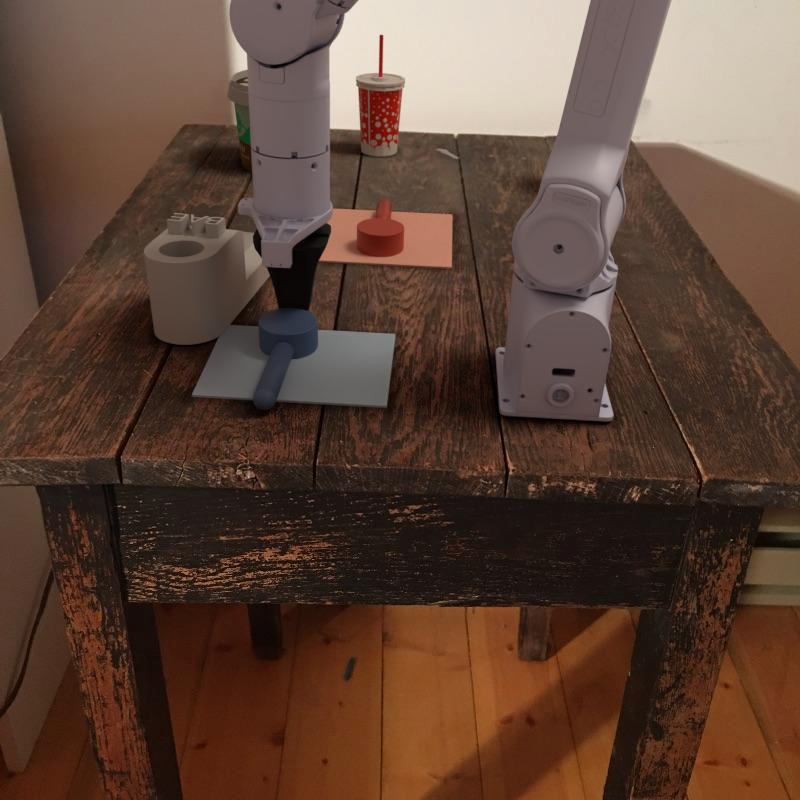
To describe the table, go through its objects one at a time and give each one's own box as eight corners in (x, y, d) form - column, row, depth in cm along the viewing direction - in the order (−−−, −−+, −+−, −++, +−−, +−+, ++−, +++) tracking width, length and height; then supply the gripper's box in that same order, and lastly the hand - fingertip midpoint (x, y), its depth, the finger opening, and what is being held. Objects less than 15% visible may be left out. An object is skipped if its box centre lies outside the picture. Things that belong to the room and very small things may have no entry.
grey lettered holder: (281, 261, 86) (277, 178, 82) (210, 348, 71) (201, 251, 67) (224, 255, 87) (217, 173, 83) (142, 340, 72) (128, 244, 68)
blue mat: (386, 408, 65) (386, 405, 65) (191, 397, 66) (191, 394, 66) (395, 336, 75) (395, 333, 74) (224, 326, 75) (224, 324, 75)
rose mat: (451, 269, 86) (451, 267, 86) (303, 261, 87) (303, 259, 87) (452, 216, 98) (452, 214, 98) (322, 209, 99) (322, 207, 98)
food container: (219, 152, 114) (213, 69, 109) (267, 148, 117) (263, 66, 111) (249, 183, 105) (244, 94, 100) (300, 177, 107) (297, 90, 102)
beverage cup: (411, 149, 118) (416, 34, 111) (386, 161, 114) (389, 42, 106) (372, 141, 121) (374, 28, 113) (345, 152, 116) (345, 35, 109)
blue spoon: (266, 330, 74) (264, 305, 73) (322, 333, 74) (321, 309, 73) (230, 412, 64) (227, 385, 63) (295, 416, 64) (294, 389, 62)
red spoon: (402, 258, 88) (403, 236, 86) (354, 256, 88) (355, 234, 87) (406, 212, 98) (406, 192, 97) (363, 210, 98) (363, 190, 97)
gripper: (255, 116, 73) (261, 274, 80) (212, 175, 60) (225, 355, 68) (343, 122, 73) (342, 279, 80) (319, 182, 60) (320, 361, 68)
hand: (294, 314), depth 74 cm, fingers closed, pressing on blue spoon
